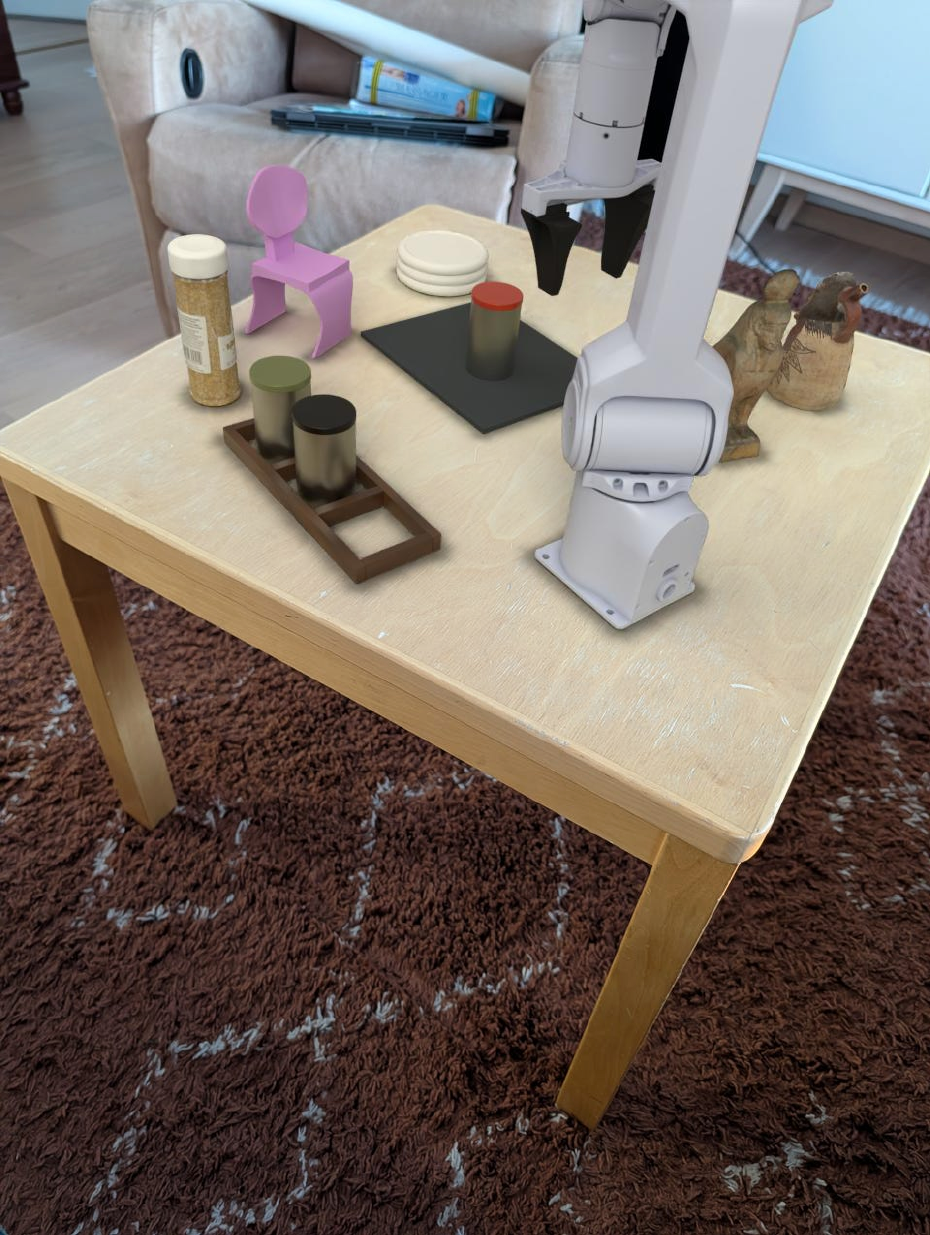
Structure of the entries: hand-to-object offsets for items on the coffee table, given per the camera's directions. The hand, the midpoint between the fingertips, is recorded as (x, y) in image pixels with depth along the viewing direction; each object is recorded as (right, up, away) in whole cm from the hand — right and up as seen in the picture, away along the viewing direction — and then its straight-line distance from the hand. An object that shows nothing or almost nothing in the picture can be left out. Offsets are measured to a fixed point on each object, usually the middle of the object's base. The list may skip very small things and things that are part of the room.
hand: (580, 282), depth 82 cm
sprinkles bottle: (-32, -10, -1) cm, 34 cm away
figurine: (+23, -8, +8) cm, 25 cm away
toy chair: (-26, -2, +8) cm, 28 cm away
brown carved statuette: (+12, -12, +3) cm, 17 cm away
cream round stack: (-13, +8, +20) cm, 25 cm away
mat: (-8, -5, +7) cm, 12 cm away
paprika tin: (-8, -6, +6) cm, 11 cm away
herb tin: (-25, -16, -6) cm, 31 cm away
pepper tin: (-21, -20, -10) cm, 31 cm away
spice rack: (-21, -20, -10) cm, 31 cm away
